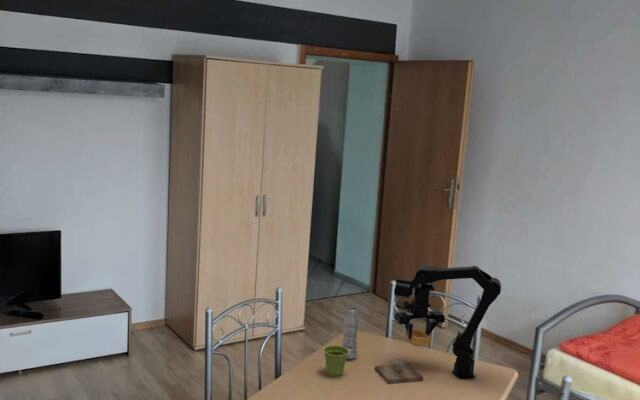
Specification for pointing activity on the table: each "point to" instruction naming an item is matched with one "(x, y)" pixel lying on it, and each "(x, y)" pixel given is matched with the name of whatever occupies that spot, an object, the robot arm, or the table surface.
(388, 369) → the keeper board
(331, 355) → the plant pot
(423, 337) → the tan rectangular frame
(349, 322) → the plastic bottle
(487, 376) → the table surface
